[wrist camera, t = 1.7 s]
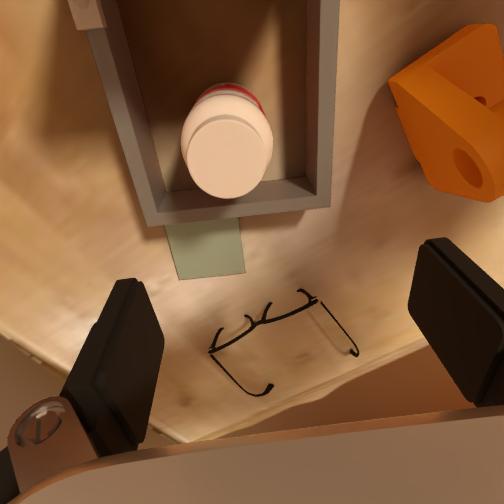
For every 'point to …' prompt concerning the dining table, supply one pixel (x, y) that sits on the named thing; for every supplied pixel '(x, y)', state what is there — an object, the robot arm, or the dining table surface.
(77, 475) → the robot arm
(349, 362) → the dining table surface
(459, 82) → the bracket
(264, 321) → the eyeglasses
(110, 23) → the case
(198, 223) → the mat
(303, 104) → the dining table surface
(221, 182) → the pill bottle
